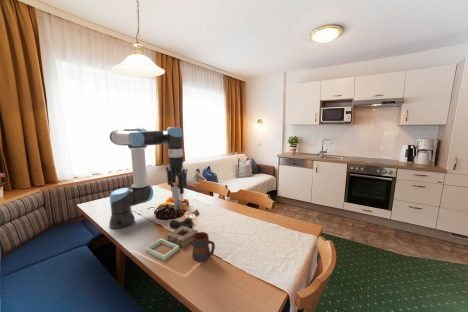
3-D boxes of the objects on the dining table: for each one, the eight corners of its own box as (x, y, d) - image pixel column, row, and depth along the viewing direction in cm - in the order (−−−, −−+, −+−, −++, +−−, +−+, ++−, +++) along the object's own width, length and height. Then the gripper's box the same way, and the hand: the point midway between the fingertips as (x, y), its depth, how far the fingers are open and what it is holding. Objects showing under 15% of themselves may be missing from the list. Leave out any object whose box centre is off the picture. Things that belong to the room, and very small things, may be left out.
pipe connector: (182, 214, 135) (199, 219, 128) (182, 221, 136) (199, 226, 129) (169, 221, 125) (186, 227, 118) (169, 229, 126) (187, 235, 119)
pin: (171, 208, 107) (170, 182, 104) (178, 205, 111) (176, 180, 109) (178, 210, 104) (177, 183, 102) (184, 207, 109) (183, 181, 106)
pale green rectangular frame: (145, 253, 101) (145, 247, 101) (161, 243, 110) (160, 238, 109) (164, 262, 94) (164, 256, 94) (179, 250, 103) (179, 245, 103)
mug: (210, 266, 91) (210, 244, 90) (189, 260, 96) (188, 238, 94) (218, 255, 99) (218, 234, 98) (198, 250, 104) (197, 230, 102)
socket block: (167, 243, 110) (167, 234, 109) (182, 233, 120) (182, 225, 120) (183, 249, 104) (183, 240, 104) (197, 238, 115) (197, 230, 114)
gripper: (158, 156, 104) (161, 197, 107) (183, 158, 96) (184, 203, 100) (169, 154, 110) (171, 193, 114) (193, 156, 103) (194, 198, 106)
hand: (177, 198), depth 107 cm, fingers closed on pin, 4 cm apart
